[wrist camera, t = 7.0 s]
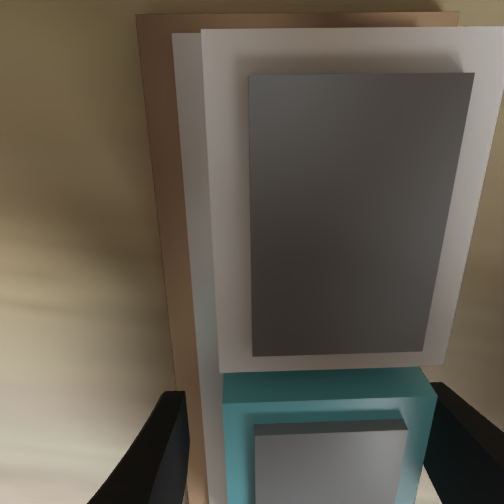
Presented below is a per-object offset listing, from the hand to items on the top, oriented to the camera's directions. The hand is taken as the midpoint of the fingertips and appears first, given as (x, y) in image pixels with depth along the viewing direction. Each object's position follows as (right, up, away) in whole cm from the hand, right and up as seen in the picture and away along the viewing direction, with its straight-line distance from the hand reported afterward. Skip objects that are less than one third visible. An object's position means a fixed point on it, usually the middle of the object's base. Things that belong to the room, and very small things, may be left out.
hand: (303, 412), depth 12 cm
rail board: (0, +2, +4) cm, 4 cm away
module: (0, +1, +3) cm, 3 cm away
